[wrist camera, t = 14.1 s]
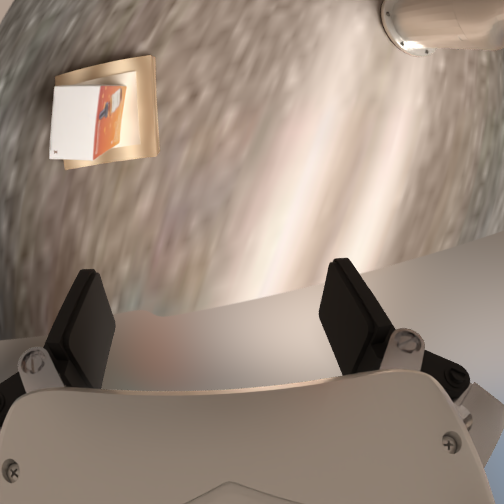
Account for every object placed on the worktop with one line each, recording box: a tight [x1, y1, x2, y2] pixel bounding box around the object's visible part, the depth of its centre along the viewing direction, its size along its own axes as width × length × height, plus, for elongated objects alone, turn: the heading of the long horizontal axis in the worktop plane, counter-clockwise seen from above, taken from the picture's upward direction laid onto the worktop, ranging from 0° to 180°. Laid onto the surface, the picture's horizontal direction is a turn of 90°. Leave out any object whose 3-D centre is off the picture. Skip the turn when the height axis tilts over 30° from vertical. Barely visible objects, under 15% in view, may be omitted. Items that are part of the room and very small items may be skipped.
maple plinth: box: [55, 55, 160, 170], centre depth 34 cm, size 14×14×4 cm
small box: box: [49, 84, 127, 161], centre depth 28 cm, size 8×6×10 cm
